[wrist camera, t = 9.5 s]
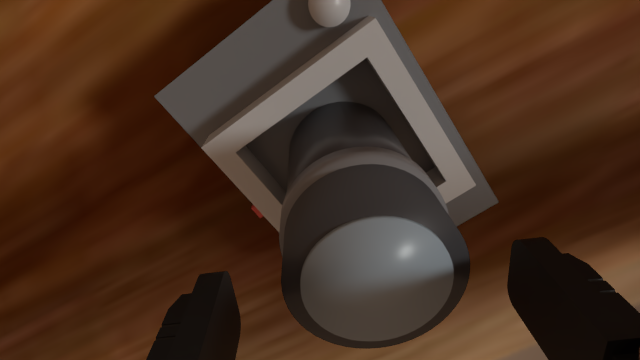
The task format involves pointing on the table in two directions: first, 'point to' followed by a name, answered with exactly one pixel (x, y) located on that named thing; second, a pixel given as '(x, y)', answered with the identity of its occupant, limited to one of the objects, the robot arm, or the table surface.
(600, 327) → the robot arm
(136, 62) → the table surface
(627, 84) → the table surface
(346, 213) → the lens
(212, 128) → the camera body
